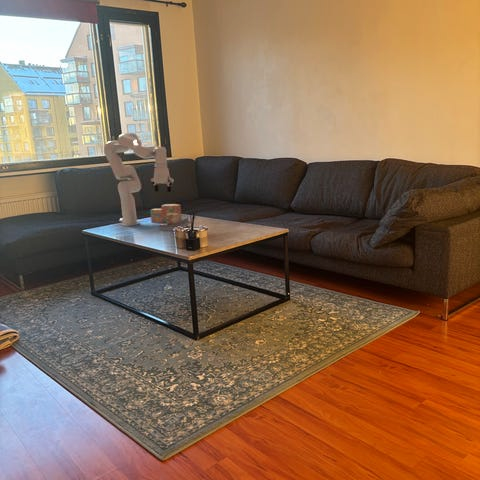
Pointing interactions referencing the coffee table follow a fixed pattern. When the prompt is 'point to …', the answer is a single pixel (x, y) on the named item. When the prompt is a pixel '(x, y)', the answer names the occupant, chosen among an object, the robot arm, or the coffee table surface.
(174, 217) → the pedestal
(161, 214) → the stack of blocks
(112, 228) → the coffee table surface
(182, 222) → the dock
